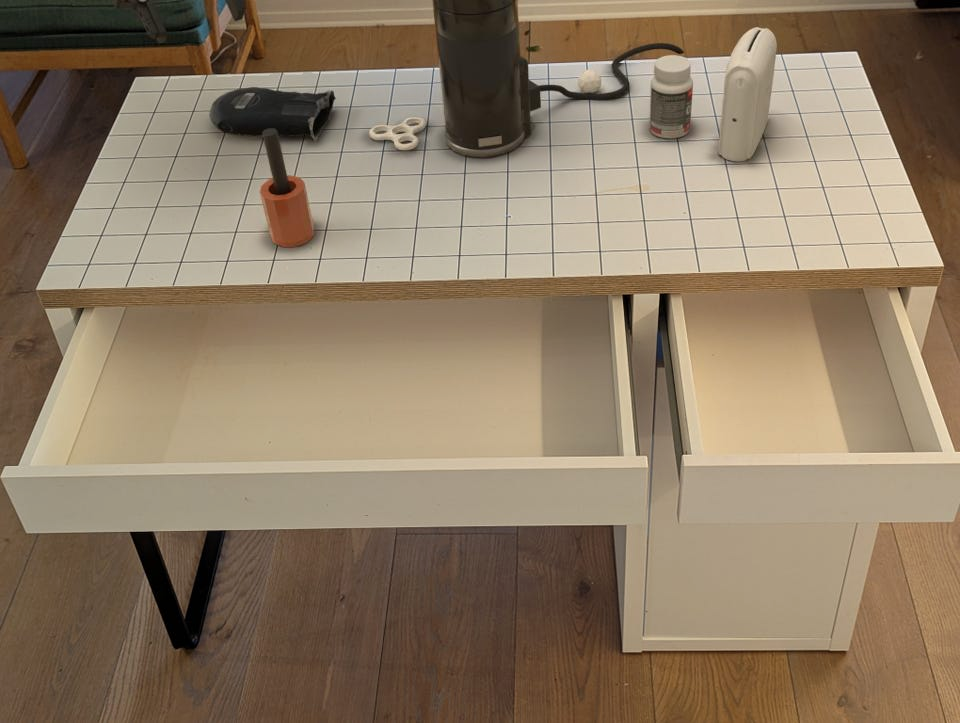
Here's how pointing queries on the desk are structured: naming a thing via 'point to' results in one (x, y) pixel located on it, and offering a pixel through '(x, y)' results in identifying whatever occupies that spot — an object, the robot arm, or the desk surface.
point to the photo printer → (747, 94)
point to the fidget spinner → (400, 137)
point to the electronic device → (272, 112)
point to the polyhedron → (589, 81)
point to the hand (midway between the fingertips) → (202, 28)
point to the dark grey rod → (276, 161)
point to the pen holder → (288, 213)
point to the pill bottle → (671, 97)
